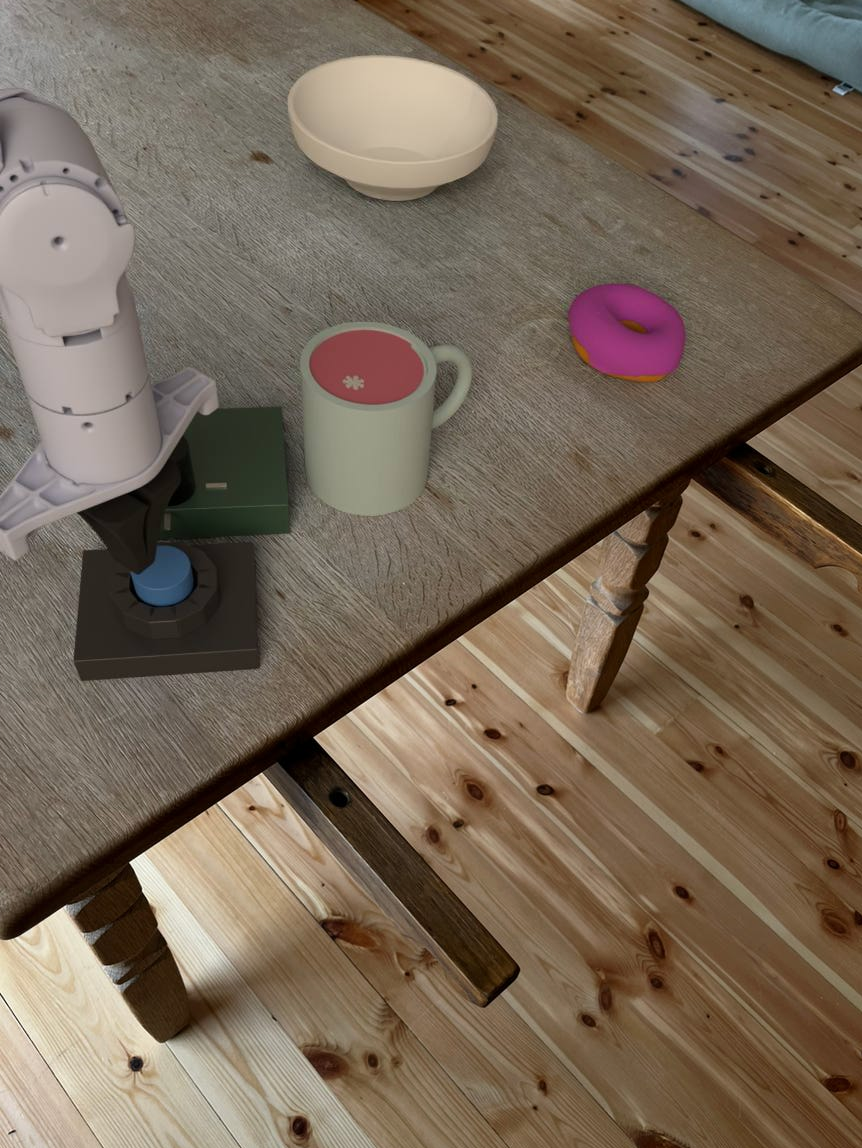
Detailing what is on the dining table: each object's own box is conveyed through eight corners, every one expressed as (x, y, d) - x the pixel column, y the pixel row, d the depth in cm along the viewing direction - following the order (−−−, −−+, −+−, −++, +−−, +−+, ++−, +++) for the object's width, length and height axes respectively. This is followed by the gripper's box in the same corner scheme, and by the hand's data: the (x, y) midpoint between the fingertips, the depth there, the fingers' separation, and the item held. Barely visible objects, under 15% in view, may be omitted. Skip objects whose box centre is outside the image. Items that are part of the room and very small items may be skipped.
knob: (184, 511, 70) (176, 468, 67) (132, 500, 70) (122, 456, 67) (203, 475, 72) (196, 431, 69) (153, 464, 73) (143, 420, 69)
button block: (80, 681, 65) (66, 644, 62) (89, 571, 70) (77, 531, 67) (259, 669, 67) (255, 632, 64) (255, 562, 72) (251, 523, 69)
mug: (347, 533, 75) (347, 428, 67) (282, 454, 79) (274, 346, 71) (499, 465, 80) (516, 361, 72) (431, 394, 84) (440, 288, 76)
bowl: (253, 153, 102) (247, 80, 97) (416, 109, 111) (420, 39, 105) (361, 258, 94) (362, 183, 88) (530, 202, 102) (540, 130, 97)
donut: (674, 402, 87) (689, 358, 83) (554, 379, 87) (563, 334, 83) (681, 327, 93) (694, 283, 89) (569, 306, 93) (578, 261, 89)
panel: (113, 563, 71) (104, 532, 68) (121, 441, 78) (113, 409, 75) (291, 554, 73) (289, 523, 70) (284, 436, 80) (281, 404, 77)
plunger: (134, 608, 64) (129, 591, 63) (136, 564, 67) (131, 546, 65) (193, 605, 65) (190, 587, 64) (194, 561, 67) (190, 543, 66)
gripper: (135, 273, 55) (171, 461, 66) (-100, 418, 47) (-15, 604, 58) (238, 329, 53) (257, 513, 64) (11, 490, 45) (77, 667, 56)
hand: (134, 560), depth 61 cm, fingers closed
